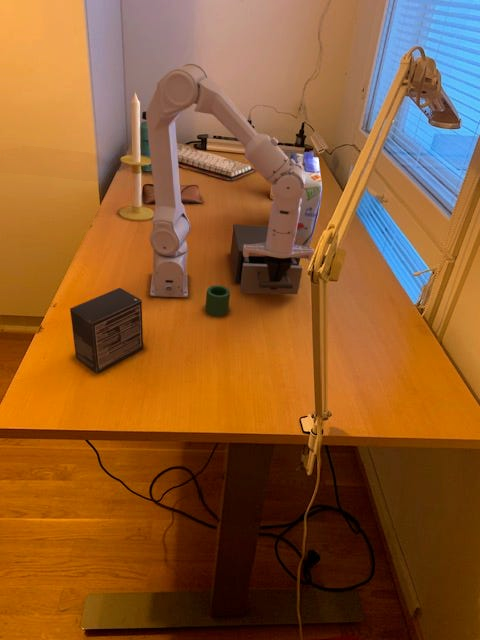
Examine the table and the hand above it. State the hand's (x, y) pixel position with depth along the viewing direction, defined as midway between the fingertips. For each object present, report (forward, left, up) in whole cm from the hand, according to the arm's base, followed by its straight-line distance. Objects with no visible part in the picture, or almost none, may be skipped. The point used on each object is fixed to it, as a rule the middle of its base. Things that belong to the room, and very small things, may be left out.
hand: (273, 287), depth 105 cm
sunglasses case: (+59, +22, -4) cm, 63 cm away
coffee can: (+67, -15, -4) cm, 69 cm away
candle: (+46, +32, -4) cm, 56 cm away
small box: (-19, +32, -4) cm, 37 cm away
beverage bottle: (+84, +31, -4) cm, 90 cm away
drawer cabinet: (+15, 0, -4) cm, 16 cm away
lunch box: (+37, -12, -4) cm, 39 cm away
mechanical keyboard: (+98, +12, -4) cm, 99 cm away
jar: (-4, +12, -4) cm, 13 cm away
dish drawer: (+7, 0, -3) cm, 7 cm away
